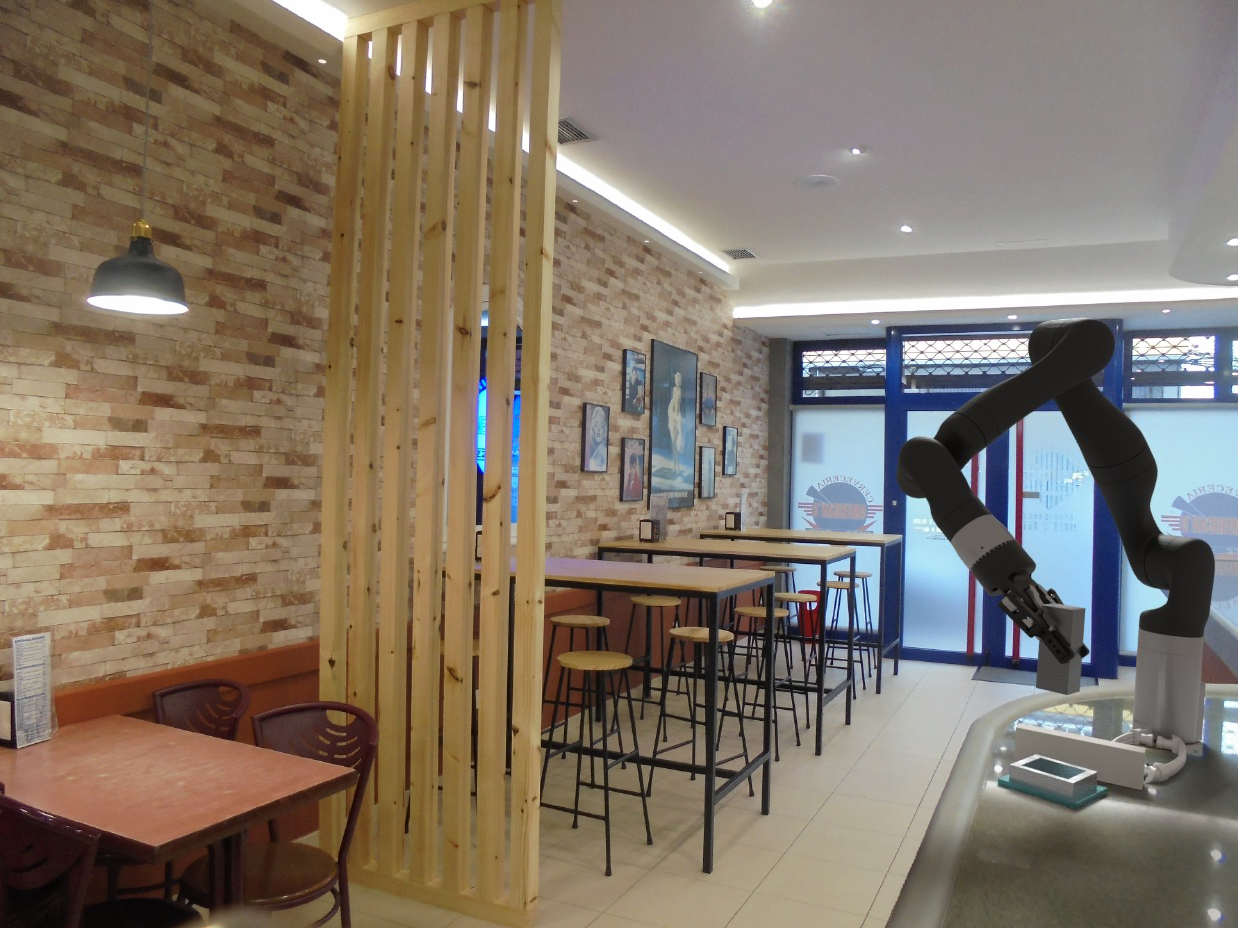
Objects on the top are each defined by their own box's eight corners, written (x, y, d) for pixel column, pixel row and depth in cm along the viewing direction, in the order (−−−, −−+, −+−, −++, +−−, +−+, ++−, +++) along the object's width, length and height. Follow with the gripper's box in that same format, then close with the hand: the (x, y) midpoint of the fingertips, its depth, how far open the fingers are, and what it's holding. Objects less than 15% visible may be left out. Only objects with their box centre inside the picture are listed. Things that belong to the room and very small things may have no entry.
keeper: (1030, 770, 125) (1031, 750, 125) (1107, 793, 117) (1108, 772, 117) (997, 784, 118) (999, 763, 118) (1076, 809, 111) (1078, 787, 111)
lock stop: (1048, 684, 121) (1054, 603, 121) (1079, 691, 118) (1085, 608, 118) (1035, 687, 118) (1041, 604, 118) (1067, 695, 115) (1073, 610, 115)
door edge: (1013, 761, 128) (1016, 727, 128) (1017, 756, 131) (1019, 722, 131) (1142, 790, 120) (1144, 752, 120) (1143, 784, 122) (1145, 747, 122)
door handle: (1195, 754, 141) (1170, 791, 121) (1124, 738, 147) (1090, 772, 127) (1196, 737, 141) (1172, 772, 121) (1125, 722, 147) (1091, 753, 127)
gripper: (988, 537, 119) (1077, 647, 110) (1034, 537, 128) (1120, 637, 119) (947, 572, 123) (1031, 680, 113) (995, 569, 132) (1075, 668, 123)
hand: (1076, 658), depth 116 cm, fingers closed on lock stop, 4 cm apart
